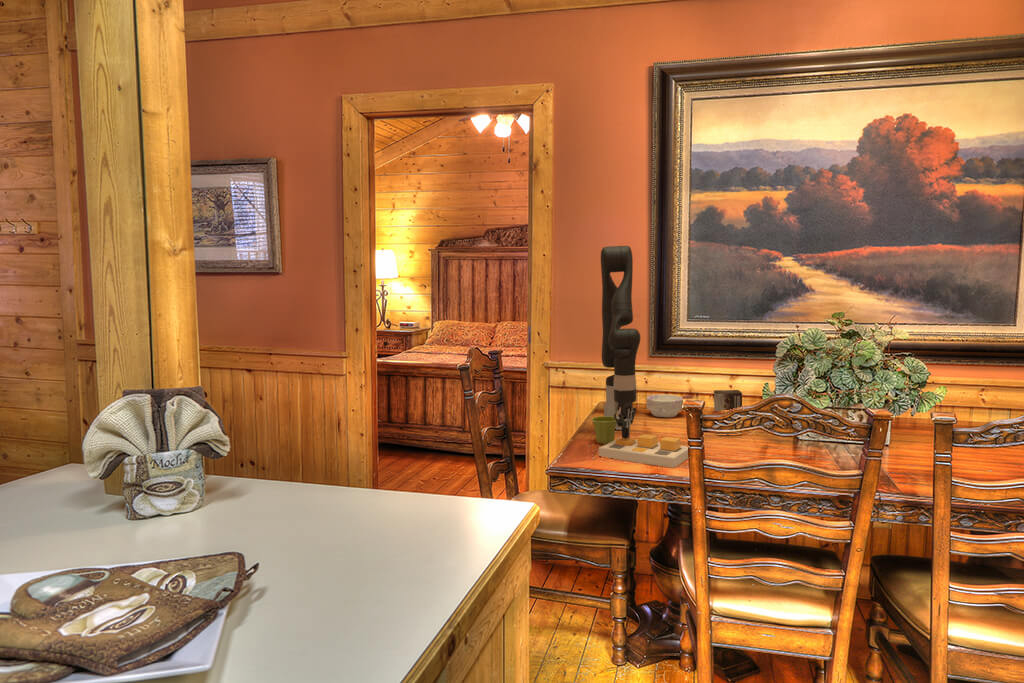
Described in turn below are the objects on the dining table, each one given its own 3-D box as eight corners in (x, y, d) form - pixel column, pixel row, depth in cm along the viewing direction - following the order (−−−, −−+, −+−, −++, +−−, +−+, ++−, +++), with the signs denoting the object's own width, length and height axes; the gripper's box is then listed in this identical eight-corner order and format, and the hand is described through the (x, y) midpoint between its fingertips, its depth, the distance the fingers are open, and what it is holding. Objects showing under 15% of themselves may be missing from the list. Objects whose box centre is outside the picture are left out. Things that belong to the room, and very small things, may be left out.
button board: (598, 456, 218) (598, 446, 217) (620, 446, 231) (620, 436, 230) (673, 467, 203) (673, 457, 202) (692, 455, 216) (692, 445, 215)
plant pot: (593, 446, 232) (593, 422, 231) (590, 439, 241) (590, 416, 240) (620, 445, 232) (619, 421, 231) (616, 439, 241) (615, 415, 240)
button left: (615, 448, 222) (615, 440, 222) (622, 445, 226) (622, 437, 226) (629, 450, 219) (629, 441, 219) (635, 447, 223) (635, 438, 223)
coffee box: (738, 431, 246) (738, 389, 245) (742, 436, 240) (743, 392, 238) (713, 432, 247) (713, 389, 246) (717, 436, 241) (717, 392, 239)
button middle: (637, 445, 217) (637, 437, 217) (643, 442, 222) (643, 433, 221) (651, 447, 215) (651, 438, 214) (657, 444, 219) (657, 435, 218)
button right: (660, 448, 213) (660, 439, 213) (666, 445, 217) (666, 436, 217) (675, 450, 210) (675, 441, 210) (680, 447, 214) (680, 438, 214)
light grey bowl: (686, 419, 271) (686, 400, 270) (649, 419, 272) (648, 400, 271) (679, 411, 286) (679, 393, 285) (644, 412, 287) (644, 394, 286)
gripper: (623, 383, 228) (624, 432, 230) (605, 389, 218) (606, 440, 219) (643, 385, 224) (643, 434, 226) (626, 391, 213) (627, 443, 215)
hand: (625, 437), depth 223 cm, fingers closed
